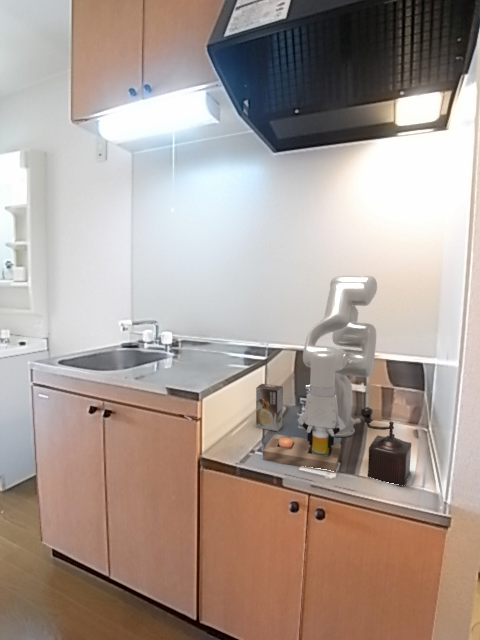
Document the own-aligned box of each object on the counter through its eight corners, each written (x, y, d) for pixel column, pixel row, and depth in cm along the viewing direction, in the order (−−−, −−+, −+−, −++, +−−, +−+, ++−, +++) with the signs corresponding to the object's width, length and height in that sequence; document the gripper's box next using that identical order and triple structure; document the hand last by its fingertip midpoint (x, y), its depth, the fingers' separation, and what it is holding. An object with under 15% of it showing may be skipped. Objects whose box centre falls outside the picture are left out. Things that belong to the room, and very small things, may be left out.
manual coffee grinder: (411, 471, 116) (414, 414, 114) (404, 488, 107) (408, 426, 105) (360, 457, 125) (362, 404, 123) (349, 472, 115) (351, 414, 113)
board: (262, 459, 123) (262, 450, 122) (274, 442, 136) (274, 433, 136) (336, 472, 115) (336, 463, 115) (340, 452, 128) (341, 444, 128)
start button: (287, 445, 130) (288, 436, 130) (294, 451, 126) (295, 441, 126) (276, 448, 128) (276, 438, 128) (283, 453, 124) (283, 444, 124)
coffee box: (283, 425, 150) (283, 386, 149) (277, 431, 145) (278, 390, 143) (261, 421, 155) (262, 383, 153) (255, 427, 149) (255, 387, 147)
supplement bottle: (328, 458, 120) (330, 428, 119) (311, 456, 121) (312, 427, 120) (328, 450, 125) (329, 422, 124) (311, 448, 126) (312, 420, 125)
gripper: (292, 390, 120) (291, 445, 122) (349, 397, 114) (347, 454, 117) (297, 384, 127) (296, 436, 129) (351, 389, 121) (349, 444, 124)
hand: (320, 444), depth 123 cm, fingers closed on supplement bottle, 5 cm apart
